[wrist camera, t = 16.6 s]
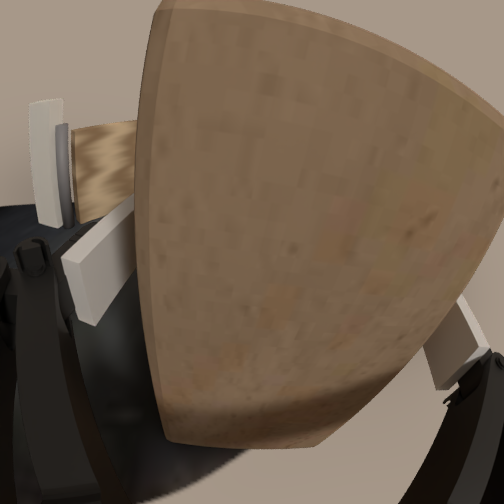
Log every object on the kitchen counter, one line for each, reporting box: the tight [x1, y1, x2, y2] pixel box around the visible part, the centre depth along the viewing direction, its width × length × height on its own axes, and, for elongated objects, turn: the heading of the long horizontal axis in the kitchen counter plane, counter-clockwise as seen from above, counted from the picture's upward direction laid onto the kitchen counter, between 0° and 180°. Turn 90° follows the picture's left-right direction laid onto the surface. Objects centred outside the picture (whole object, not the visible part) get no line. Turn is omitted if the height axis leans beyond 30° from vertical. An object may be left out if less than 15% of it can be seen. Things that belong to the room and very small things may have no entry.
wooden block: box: [134, 0, 504, 449], centre depth 13 cm, size 10×10×20 cm
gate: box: [71, 120, 137, 224], centre depth 34 cm, size 16×3×12 cm, turn 142°
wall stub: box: [29, 98, 75, 229], centre depth 26 cm, size 6×2×16 cm, turn 82°
